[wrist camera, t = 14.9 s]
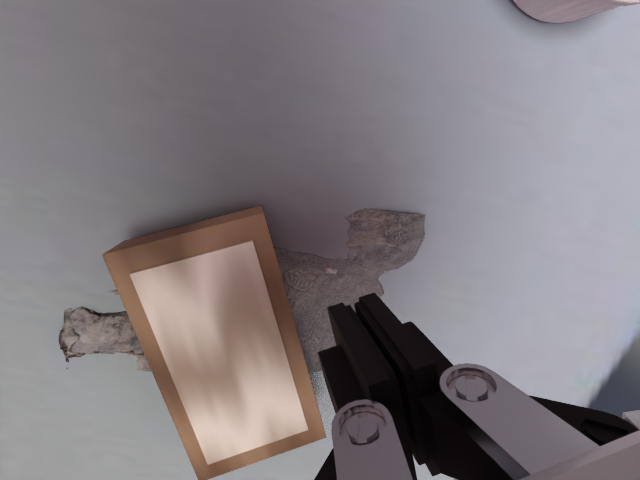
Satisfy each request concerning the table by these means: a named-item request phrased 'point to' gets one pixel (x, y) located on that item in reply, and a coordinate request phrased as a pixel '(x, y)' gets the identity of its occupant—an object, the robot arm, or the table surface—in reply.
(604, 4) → the ramekin
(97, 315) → the stone slab
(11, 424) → the table surface
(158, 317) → the brown wooden block
